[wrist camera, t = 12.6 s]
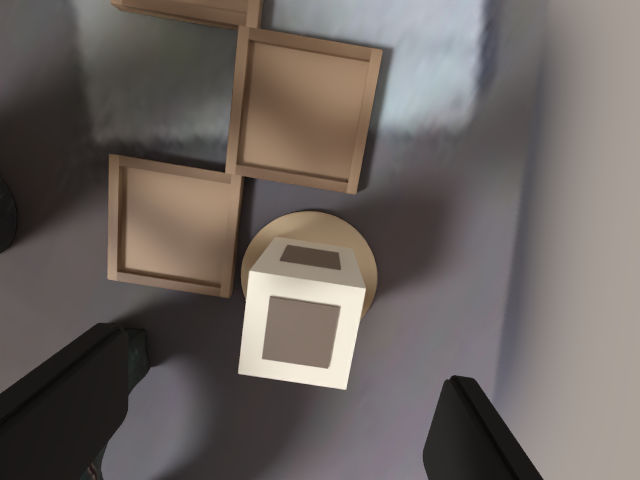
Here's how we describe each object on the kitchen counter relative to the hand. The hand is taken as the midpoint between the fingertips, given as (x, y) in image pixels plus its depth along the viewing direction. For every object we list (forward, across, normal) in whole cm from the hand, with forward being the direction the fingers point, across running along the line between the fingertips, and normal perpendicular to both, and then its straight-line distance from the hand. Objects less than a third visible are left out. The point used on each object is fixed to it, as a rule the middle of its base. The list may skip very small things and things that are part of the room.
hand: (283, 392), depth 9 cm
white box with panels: (+12, 0, +1) cm, 12 cm away
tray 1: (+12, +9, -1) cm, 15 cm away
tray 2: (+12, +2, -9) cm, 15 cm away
